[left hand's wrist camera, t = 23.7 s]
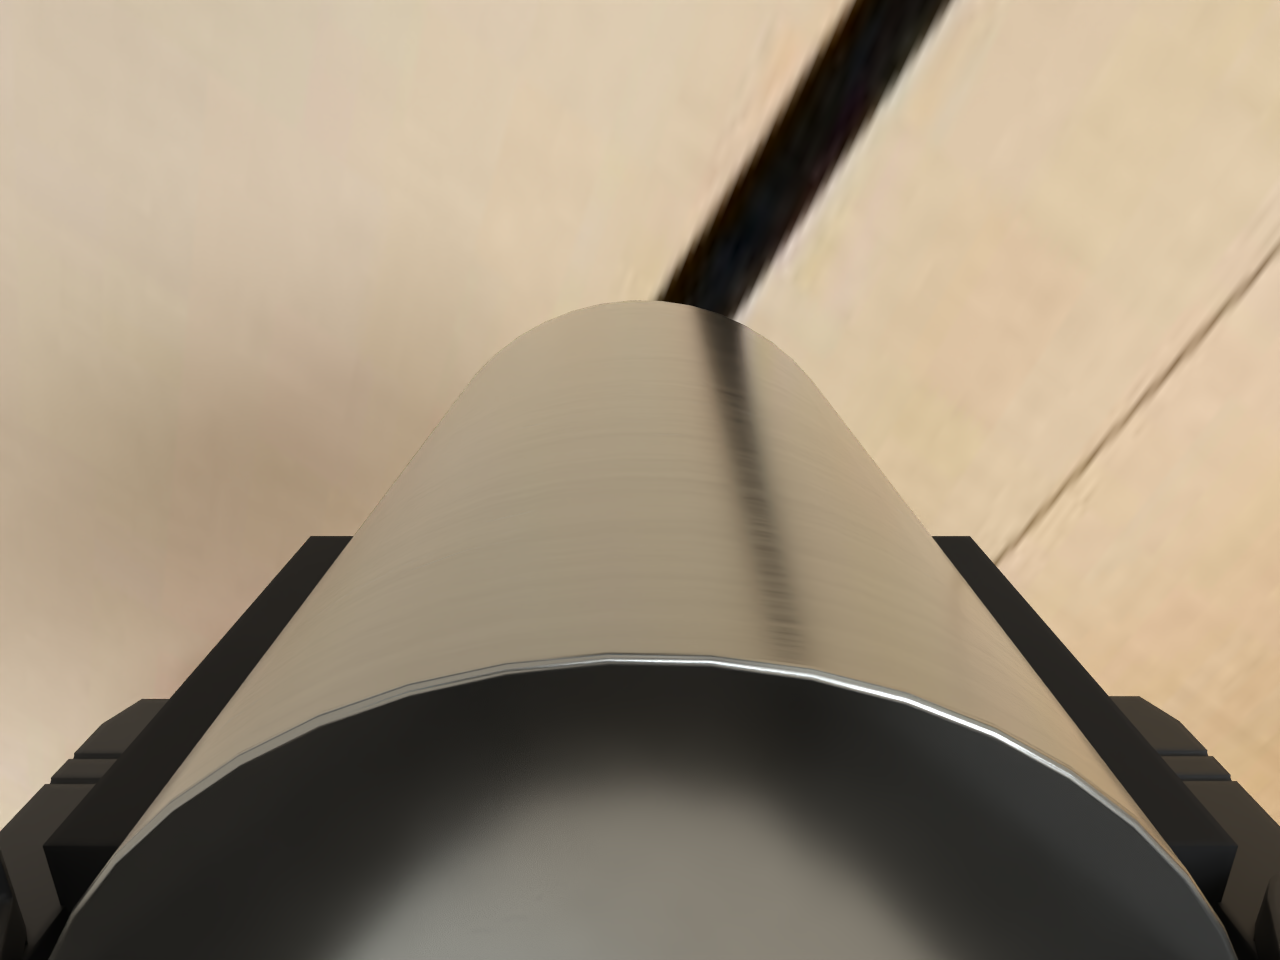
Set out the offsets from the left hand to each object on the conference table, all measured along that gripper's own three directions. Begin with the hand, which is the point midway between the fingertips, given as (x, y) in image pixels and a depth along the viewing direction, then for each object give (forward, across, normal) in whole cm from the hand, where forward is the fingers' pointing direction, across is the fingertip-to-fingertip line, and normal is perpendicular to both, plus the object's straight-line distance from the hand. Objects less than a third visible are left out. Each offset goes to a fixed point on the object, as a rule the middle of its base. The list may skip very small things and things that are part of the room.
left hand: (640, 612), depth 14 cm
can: (+4, 0, 0) cm, 4 cm away
